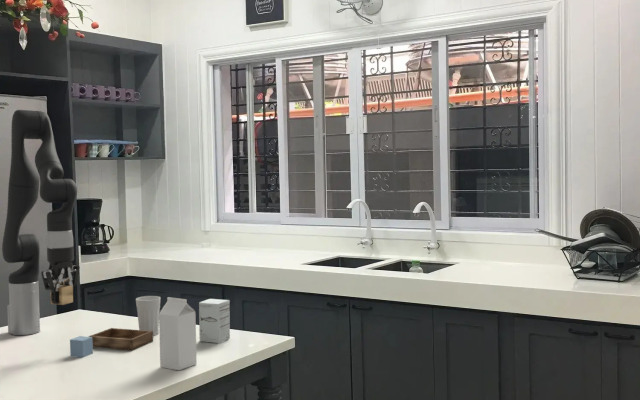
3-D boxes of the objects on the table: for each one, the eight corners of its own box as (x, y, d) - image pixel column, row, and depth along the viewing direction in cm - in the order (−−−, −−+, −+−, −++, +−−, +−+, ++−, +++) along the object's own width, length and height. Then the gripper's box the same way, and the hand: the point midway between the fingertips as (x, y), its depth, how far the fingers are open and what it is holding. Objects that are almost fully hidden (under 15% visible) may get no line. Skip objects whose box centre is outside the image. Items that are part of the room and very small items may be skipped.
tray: (88, 346, 220) (88, 336, 220) (111, 338, 231) (111, 327, 230) (131, 350, 214) (131, 339, 214) (153, 341, 225) (152, 331, 225)
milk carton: (179, 371, 193) (177, 301, 192) (160, 367, 196) (158, 299, 195) (196, 364, 199) (195, 297, 198) (178, 361, 202) (176, 295, 201)
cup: (164, 331, 239) (163, 296, 238) (156, 337, 231) (155, 300, 230) (141, 331, 240) (140, 295, 239) (133, 336, 232) (132, 300, 231)
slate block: (70, 356, 209) (69, 339, 209) (80, 352, 214) (79, 336, 213) (83, 357, 208) (82, 340, 208) (92, 353, 212) (92, 337, 212)
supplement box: (198, 342, 224) (197, 302, 223) (210, 336, 231) (210, 298, 230) (219, 343, 221) (218, 303, 221) (230, 338, 228) (230, 299, 228)
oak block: (50, 304, 212) (50, 287, 212) (61, 301, 217) (60, 285, 216) (62, 305, 211) (62, 288, 210) (73, 302, 215) (72, 285, 215)
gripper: (67, 242, 221) (68, 297, 222) (32, 247, 208) (34, 305, 208) (86, 243, 218) (88, 298, 219) (52, 248, 205) (54, 307, 206)
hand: (61, 301), depth 214 cm, fingers closed on oak block, 4 cm apart
